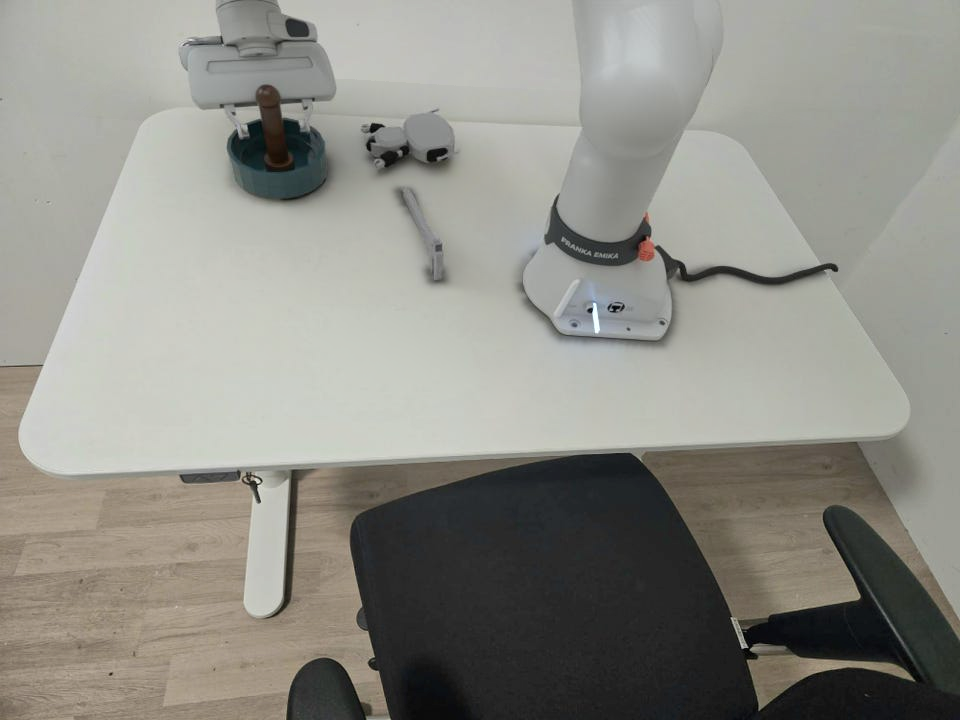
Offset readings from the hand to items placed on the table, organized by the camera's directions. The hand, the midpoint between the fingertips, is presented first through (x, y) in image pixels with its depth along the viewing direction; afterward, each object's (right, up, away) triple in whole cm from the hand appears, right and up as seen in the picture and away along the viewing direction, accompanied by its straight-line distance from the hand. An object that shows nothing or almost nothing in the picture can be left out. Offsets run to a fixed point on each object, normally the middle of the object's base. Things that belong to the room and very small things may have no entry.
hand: (275, 136), depth 85 cm
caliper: (+21, -14, +2) cm, 26 cm away
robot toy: (+18, +2, +13) cm, 23 cm away
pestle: (-1, -3, +5) cm, 6 cm away
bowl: (-1, -3, +6) cm, 7 cm away
